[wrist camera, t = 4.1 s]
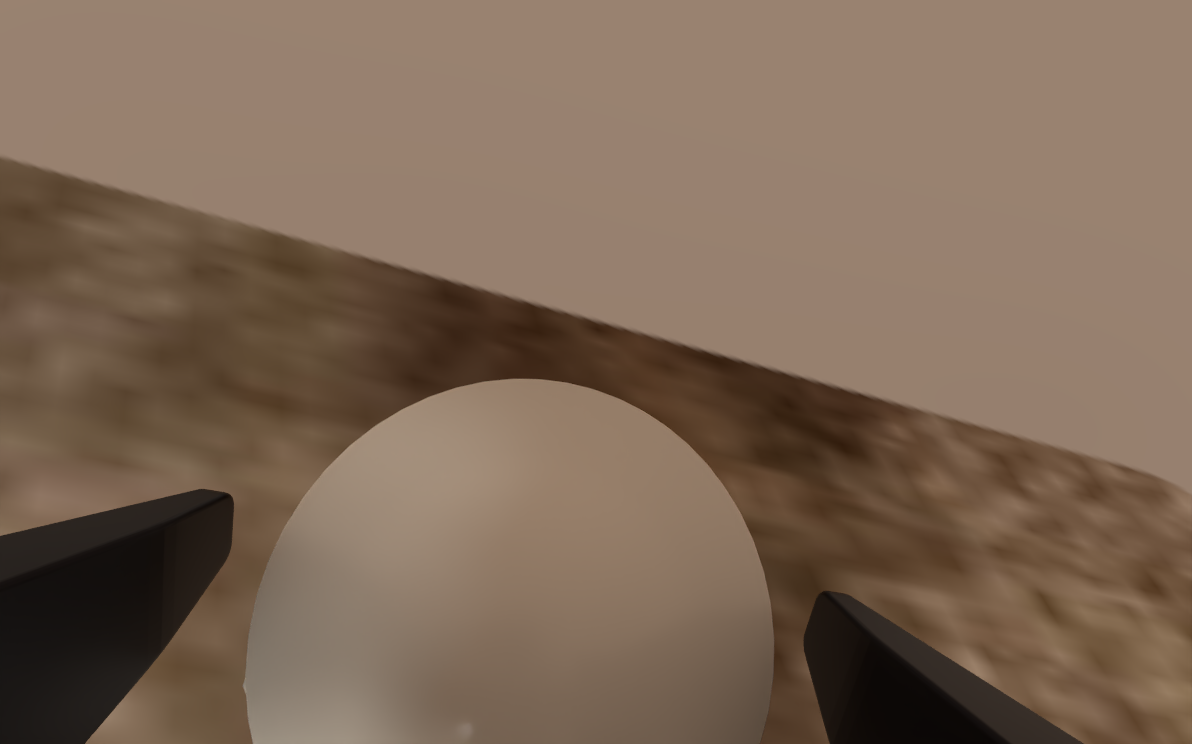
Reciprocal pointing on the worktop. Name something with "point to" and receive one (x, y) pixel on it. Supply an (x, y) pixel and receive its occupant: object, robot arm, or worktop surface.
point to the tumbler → (513, 584)
